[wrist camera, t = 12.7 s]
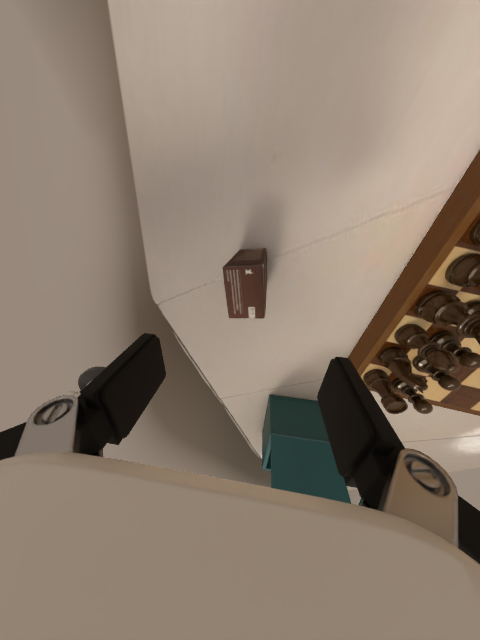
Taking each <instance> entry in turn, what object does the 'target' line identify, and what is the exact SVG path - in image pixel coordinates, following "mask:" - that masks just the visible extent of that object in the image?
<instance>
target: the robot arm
mask: <svg viewBox="0 0 480 640" xmlns="http://www.w3.org/2000/svg"><path fill="white" fill-rule="evenodd" d="M165 375H166V371H165V366H164V361H163V356H162V350H161V345H160V340H159V338H157V336H156V335H154V334H147V333H146V334H145V333H144V334H143V335H142V336H140V337H139V338H138V339H137V340H136V341H135V342H134V343H133V344H132V345H130V346H129V347H128V348H127V349H126V350H125V351H124V352H123V353H122V354H121V355H120V356H118V357H117V358H116V359H115V360H114V361H113V362H112V363H111V364H110V365H109V366H107V367H106V368H105V369H104V370H103V371H102V372H101V373H100V374H99V375H98V376H96V377H95V378H94V379H93V380H91V381H90V382H89V383H88V384H87V385H86V386H85V387H84V388H83V389H82V390H81V391H80V393H79V392H74V391H70V392H69V393H68V394H67V395H63V396H59V397H56V398H54V399H51V400H49V401H48V402H46V403H44V404H42V405H41V406H40V407H38V408H37V409H36V410H35V411H34V412H33V413H32V414H31V415H30V417H29V418H28V420H27V422H25V423H23V424H20V425H18V426H15V427H13V428H10V429H8V430H5V431H2V432H0V640H480V511H479V510H477V509H476V508H475V507H473V506H472V505H470V504H469V503H468V502H467V501H465V500H464V499H462V498H461V497H460V496H458V493H457V489H456V486H455V484H454V483H453V481H452V479H451V478H450V476H449V475H448V474H447V472H446V471H445V470H444V469H443V468H442V467H441V466H440V465H439V464H438V463H437V462H435V461H434V460H433V459H431V458H430V457H429V456H427V455H425V454H423V453H422V452H420V451H417V450H414V449H405V448H404V446H403V444H402V443H401V441H400V439H399V438H398V436H397V435H396V433H395V431H394V430H393V428H392V426H391V425H390V423H389V422H388V420H387V418H386V417H385V415H384V413H383V412H382V410H381V408H380V407H379V405H378V404H377V402H376V400H375V399H374V397H373V395H372V394H371V392H370V391H369V390H368V388H367V386H366V385H365V383H364V381H363V380H362V378H361V376H360V375H359V373H358V372H357V370H356V368H355V367H354V365H353V363H352V362H351V360H350V359H349V358H343V357H336V358H335V359H332V360H331V361H330V364H329V367H328V369H327V372H326V374H325V377H324V379H323V382H322V384H321V387H320V390H319V392H318V396H317V399H318V404H319V407H320V410H321V414H322V417H323V421H324V424H325V428H326V431H327V435H328V438H329V442H330V445H331V449H332V452H333V455H334V459H335V462H336V466H337V469H338V472H339V474H340V476H343V478H344V481H345V484H346V486H350V487H356V488H358V491H359V494H360V496H361V500H360V503H359V505H353V504H349V503H345V502H340V501H335V500H330V499H326V498H321V497H316V496H311V495H306V494H300V493H295V492H290V491H285V490H280V489H274V488H269V487H264V486H258V485H253V484H248V483H243V482H237V481H231V480H227V479H221V478H216V477H211V476H205V475H200V474H194V473H189V472H184V471H178V470H173V469H166V468H162V467H156V466H151V465H145V464H139V463H134V462H128V461H122V460H117V459H111V458H104V457H103V448H104V446H105V445H106V443H110V444H116V445H119V443H120V442H121V440H122V439H123V438H125V437H127V435H128V434H129V433H130V431H131V430H132V428H133V426H134V425H135V423H136V422H137V420H138V419H139V417H140V415H141V414H142V413H143V411H144V410H145V408H146V406H147V405H148V403H149V402H150V400H151V399H152V397H153V396H154V394H155V393H156V391H157V389H158V388H159V386H160V385H161V383H162V382H163V380H164V378H165Z"/></svg>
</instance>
